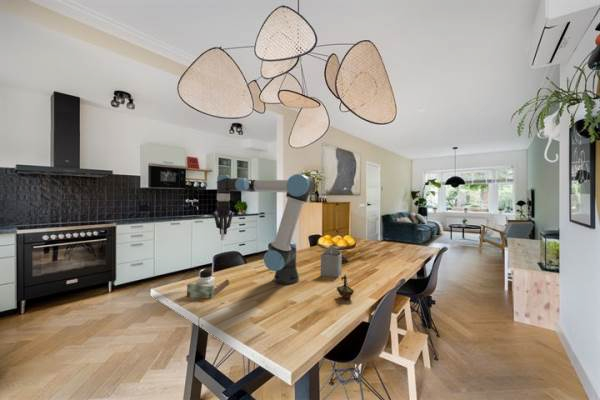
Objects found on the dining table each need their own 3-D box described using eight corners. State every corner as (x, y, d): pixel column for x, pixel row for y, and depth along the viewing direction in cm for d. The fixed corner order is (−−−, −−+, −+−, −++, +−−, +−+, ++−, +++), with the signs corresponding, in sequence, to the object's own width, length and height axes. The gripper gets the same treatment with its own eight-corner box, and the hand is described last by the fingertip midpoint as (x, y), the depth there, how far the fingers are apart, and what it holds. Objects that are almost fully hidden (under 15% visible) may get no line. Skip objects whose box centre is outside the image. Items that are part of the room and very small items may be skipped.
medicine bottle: (215, 290, 128) (215, 268, 128) (208, 295, 121) (208, 272, 121) (202, 289, 129) (202, 267, 129) (195, 294, 122) (195, 271, 122)
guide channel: (228, 284, 137) (228, 273, 137) (211, 298, 118) (211, 286, 118) (207, 282, 139) (207, 272, 139) (187, 296, 119) (187, 284, 119)
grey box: (327, 279, 147) (327, 248, 147) (320, 275, 154) (320, 245, 154) (348, 276, 154) (348, 246, 154) (341, 272, 161) (341, 243, 161)
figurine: (357, 301, 116) (357, 276, 116) (342, 303, 114) (342, 278, 114) (347, 293, 126) (347, 270, 126) (333, 295, 123) (333, 271, 123)
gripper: (236, 200, 147) (235, 239, 147) (216, 200, 148) (216, 238, 149) (231, 200, 139) (230, 241, 139) (210, 200, 141) (209, 240, 141)
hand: (223, 239), depth 144 cm, fingers closed
